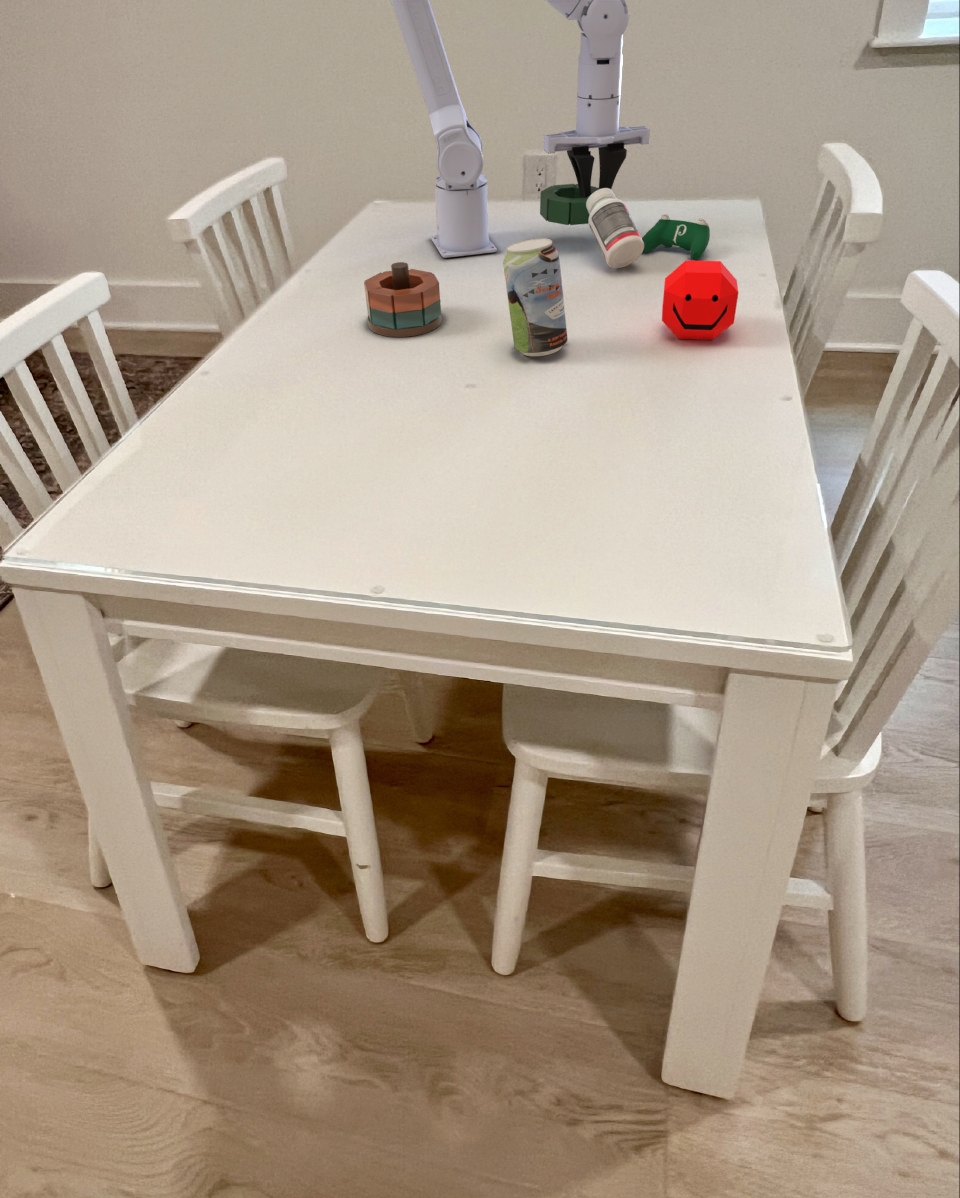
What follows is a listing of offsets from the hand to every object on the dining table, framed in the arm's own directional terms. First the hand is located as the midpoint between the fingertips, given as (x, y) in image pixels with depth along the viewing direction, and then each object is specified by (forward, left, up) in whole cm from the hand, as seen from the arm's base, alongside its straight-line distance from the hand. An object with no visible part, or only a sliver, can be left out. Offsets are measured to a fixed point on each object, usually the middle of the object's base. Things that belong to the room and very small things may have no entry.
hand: (594, 203), depth 127 cm
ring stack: (+21, -31, -5) cm, 38 cm away
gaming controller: (+8, +10, -6) cm, 14 cm away
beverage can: (+34, -18, -6) cm, 39 cm away
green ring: (0, -3, -1) cm, 3 cm away
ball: (+35, +1, -6) cm, 35 cm away
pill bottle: (+14, 0, -3) cm, 14 cm away
